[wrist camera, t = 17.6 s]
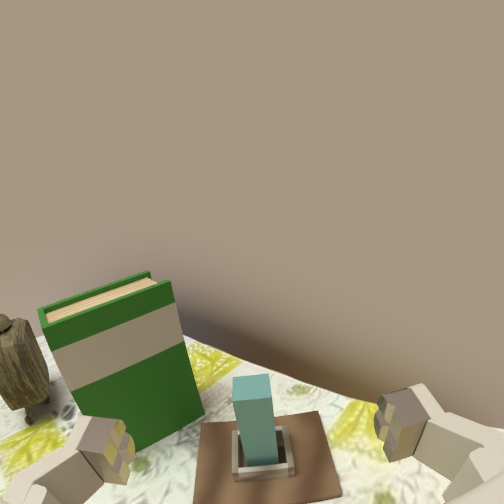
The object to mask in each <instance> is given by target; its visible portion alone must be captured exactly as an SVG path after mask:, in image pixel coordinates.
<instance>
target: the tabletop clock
mask: <svg viewBox="0 0 504 504" xmlns="http://www.w3.org/2000/svg"><path fill="white" fill-rule="evenodd" d="M49 394H50V382H49V373H48V368H47V364H46V362H45V359H44V357H43V355H42V352H41V350H40V348H39V345H38V343H37V340H36V338H35V336H34V333H33V331H32V329H31V326H30V324H29V322H28V320H24V319H21V318H16V319H13V320H10V319H9V318H8V317H7V316H6V315H4V314H0V395H1V396H2V398H3V400H4V401H5V402H6V404H7V405H8V407H9V408H10V409H11V410H12V411H13V410H17V409H20V408H24V407H25V410H26V415H27V416H26V417H25V422H26V423H27V424H31V423H32V419H31V417H29V406H31V405H34V404H38V403H41V402H43V401H44V402H45V403H49V402H50V398H49V396H48V395H49Z"/></svg>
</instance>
